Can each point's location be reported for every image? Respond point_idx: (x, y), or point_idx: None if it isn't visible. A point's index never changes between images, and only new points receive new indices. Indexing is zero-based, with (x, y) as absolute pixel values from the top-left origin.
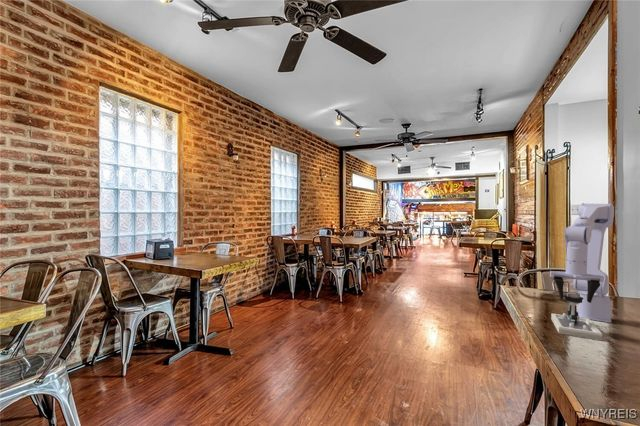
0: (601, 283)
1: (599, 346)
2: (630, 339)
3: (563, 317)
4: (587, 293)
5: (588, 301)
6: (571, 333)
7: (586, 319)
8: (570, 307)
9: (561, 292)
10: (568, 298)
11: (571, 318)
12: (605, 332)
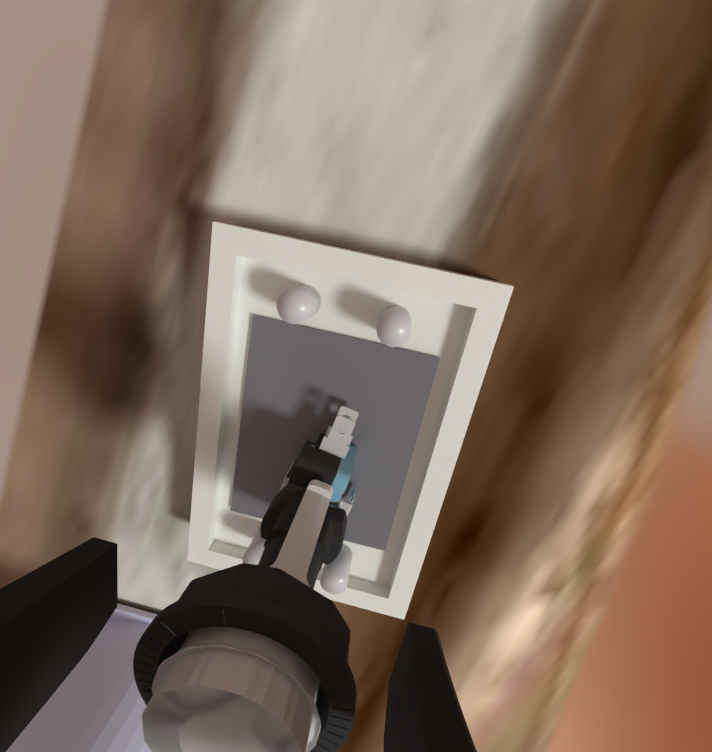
0: None
1: (304, 62)
2: (55, 328)
3: (349, 556)
4: (20, 733)
5: (107, 560)
6: (418, 264)
7: (208, 542)
8: (314, 563)
9: (450, 743)
10: (328, 641)
11: (339, 462)
12: (157, 417)
